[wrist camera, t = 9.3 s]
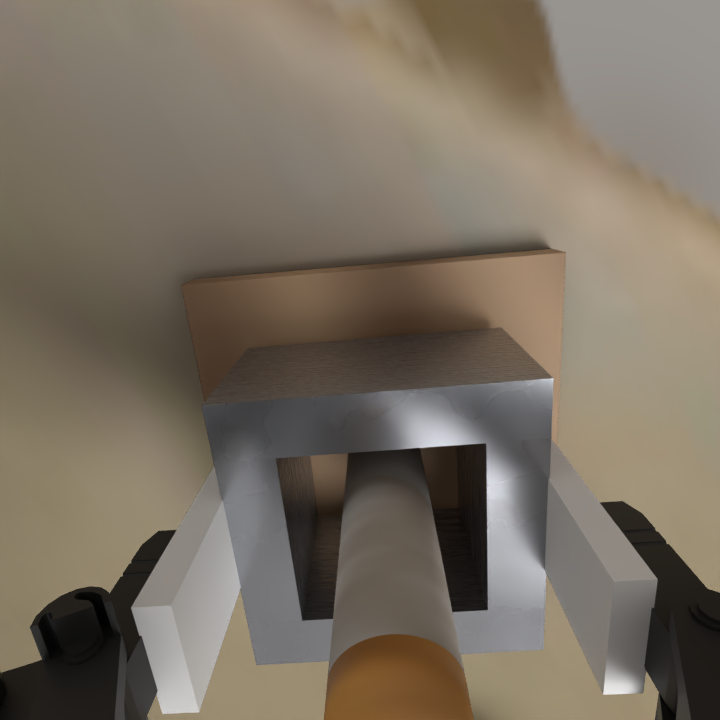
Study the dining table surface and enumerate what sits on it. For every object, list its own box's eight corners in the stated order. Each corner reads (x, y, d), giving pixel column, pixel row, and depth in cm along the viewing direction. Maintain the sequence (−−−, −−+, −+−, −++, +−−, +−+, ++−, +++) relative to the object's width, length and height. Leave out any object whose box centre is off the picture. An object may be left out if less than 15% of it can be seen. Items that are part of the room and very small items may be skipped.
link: (282, 553, 18) (256, 664, 14) (247, 348, 15) (201, 405, 11) (501, 540, 18) (543, 649, 13) (501, 327, 15) (553, 378, 11)
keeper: (249, 566, 20) (115, 972, 10) (194, 279, 16) (-127, 422, 6) (541, 550, 20) (741, 962, 9) (552, 248, 16) (913, 346, 5)
